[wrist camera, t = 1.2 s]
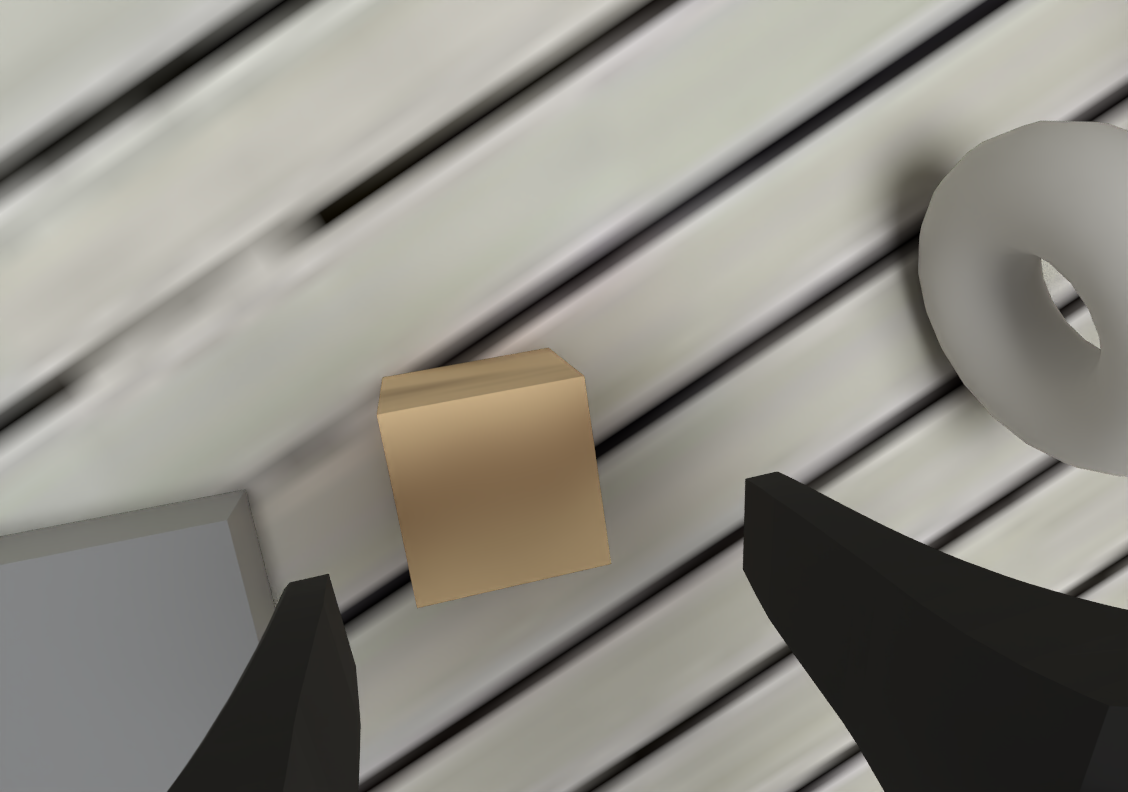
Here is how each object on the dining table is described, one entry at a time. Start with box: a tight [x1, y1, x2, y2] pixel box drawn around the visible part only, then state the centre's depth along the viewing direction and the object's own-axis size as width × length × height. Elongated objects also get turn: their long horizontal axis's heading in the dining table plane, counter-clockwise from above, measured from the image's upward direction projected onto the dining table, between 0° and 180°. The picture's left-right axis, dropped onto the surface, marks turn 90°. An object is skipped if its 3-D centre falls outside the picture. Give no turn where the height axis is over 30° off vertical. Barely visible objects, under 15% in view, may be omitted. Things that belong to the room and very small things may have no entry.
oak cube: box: [377, 348, 611, 608], centre depth 21 cm, size 5×5×5 cm
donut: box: [918, 121, 1128, 476], centre depth 21 cm, size 10×4×10 cm, turn 24°
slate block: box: [0, 489, 275, 792], centre depth 22 cm, size 12×12×3 cm
